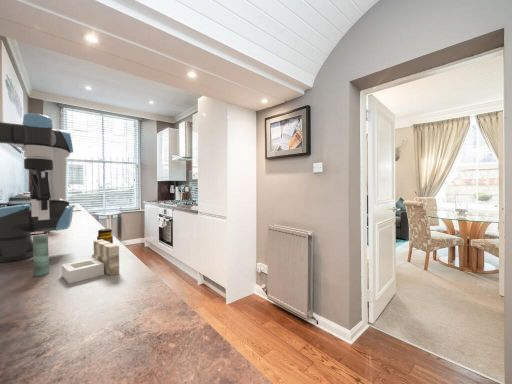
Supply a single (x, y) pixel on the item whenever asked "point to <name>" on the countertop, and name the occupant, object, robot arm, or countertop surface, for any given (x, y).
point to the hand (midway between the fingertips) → (40, 218)
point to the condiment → (104, 236)
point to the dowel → (40, 255)
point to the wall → (107, 256)
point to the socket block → (82, 270)
